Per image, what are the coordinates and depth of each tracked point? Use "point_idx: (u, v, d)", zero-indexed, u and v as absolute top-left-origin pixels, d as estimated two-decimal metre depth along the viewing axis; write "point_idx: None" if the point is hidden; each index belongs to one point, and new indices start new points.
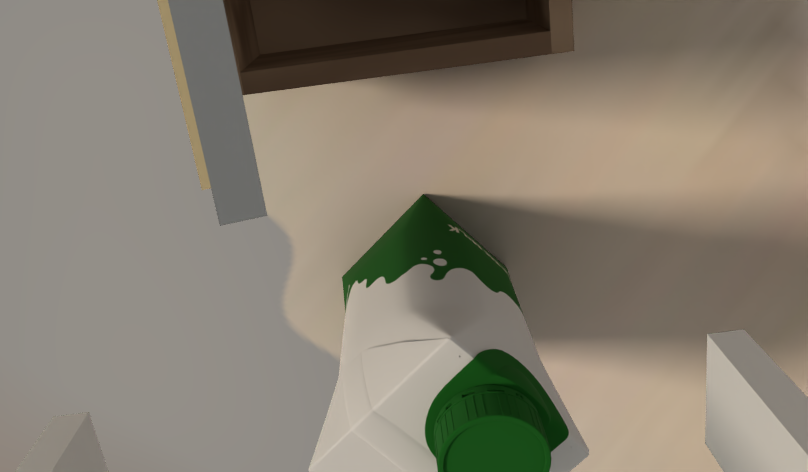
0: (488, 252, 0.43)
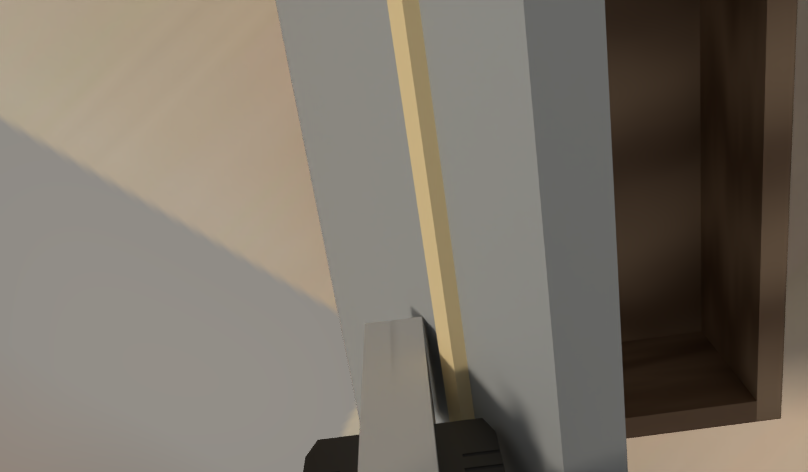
0: None
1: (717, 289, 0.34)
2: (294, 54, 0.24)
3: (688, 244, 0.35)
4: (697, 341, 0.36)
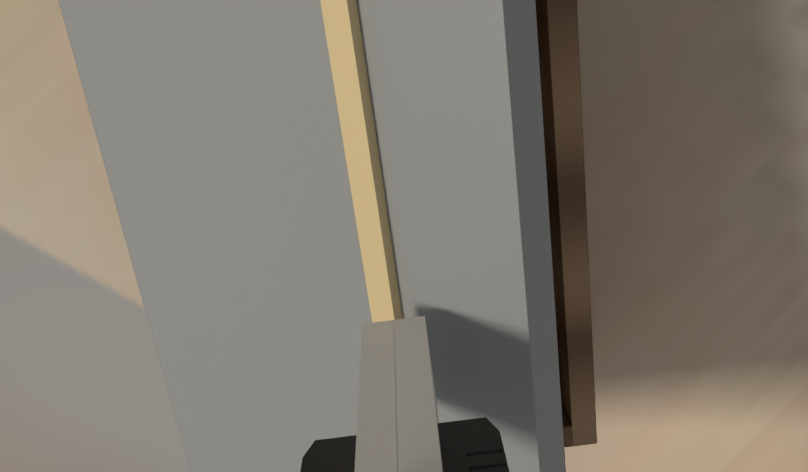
0: None
1: None
2: (103, 84, 0.24)
3: None
4: None
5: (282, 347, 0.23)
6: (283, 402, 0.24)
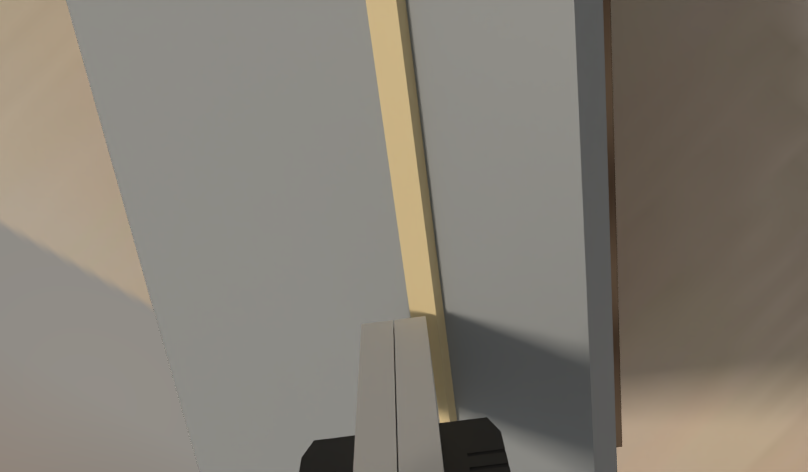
0: None
1: None
2: (110, 73, 0.23)
3: None
4: None
5: (306, 349, 0.22)
6: (306, 407, 0.23)
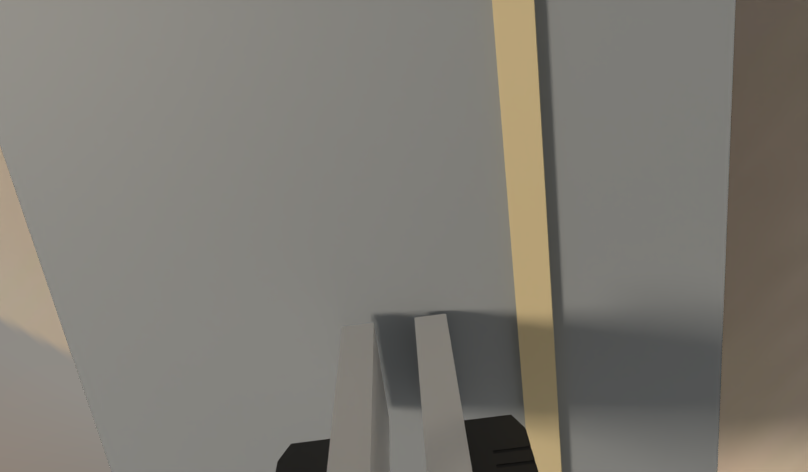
0: None
1: None
2: (35, 97, 0.18)
3: None
4: None
5: None
6: None
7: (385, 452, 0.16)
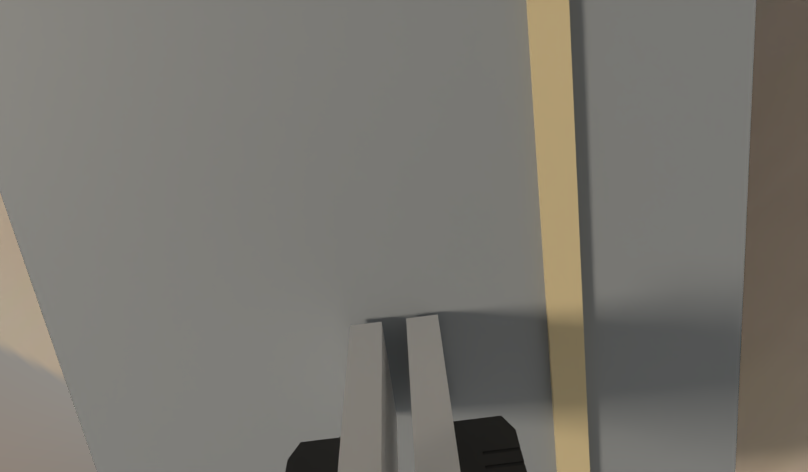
0: None
1: None
2: (34, 114, 0.17)
3: None
4: None
5: None
6: None
7: (394, 451, 0.16)
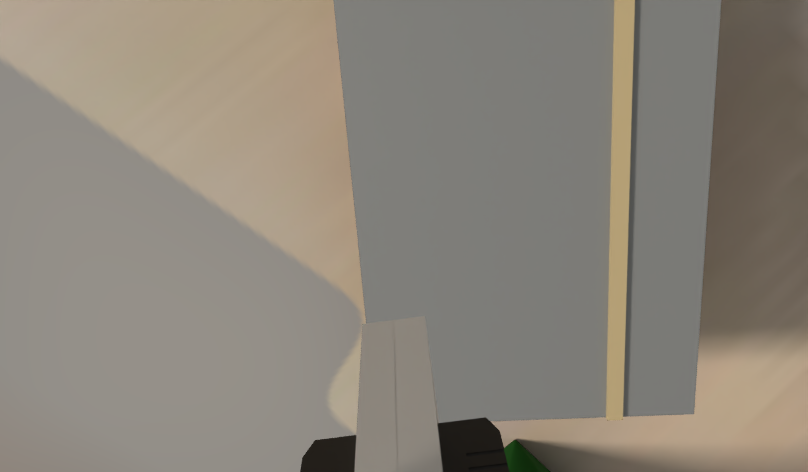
0: None
1: None
2: (371, 81, 0.34)
3: None
4: None
5: (517, 239, 0.37)
6: (507, 281, 0.37)
7: None
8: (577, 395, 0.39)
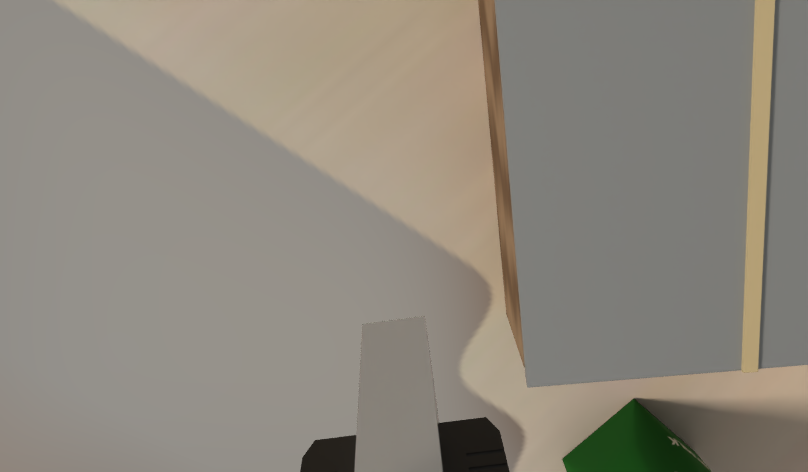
0: (687, 447, 0.54)
1: None
2: (529, 72, 0.38)
3: None
4: None
5: (661, 210, 0.40)
6: (651, 249, 0.41)
7: None
8: (715, 351, 0.43)
